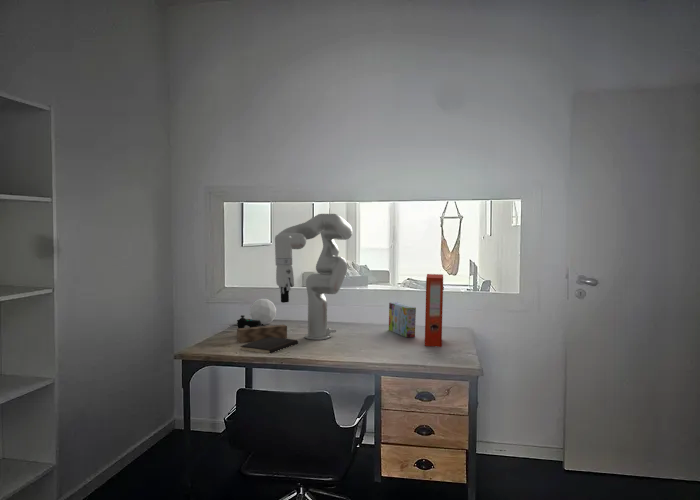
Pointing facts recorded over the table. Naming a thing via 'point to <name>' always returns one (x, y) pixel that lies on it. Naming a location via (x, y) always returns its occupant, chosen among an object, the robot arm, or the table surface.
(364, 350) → the table surface
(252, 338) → the brown wooden block
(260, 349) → the hardcover book
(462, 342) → the table surface
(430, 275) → the file binder
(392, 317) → the snack box
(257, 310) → the geometric sphere
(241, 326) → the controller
